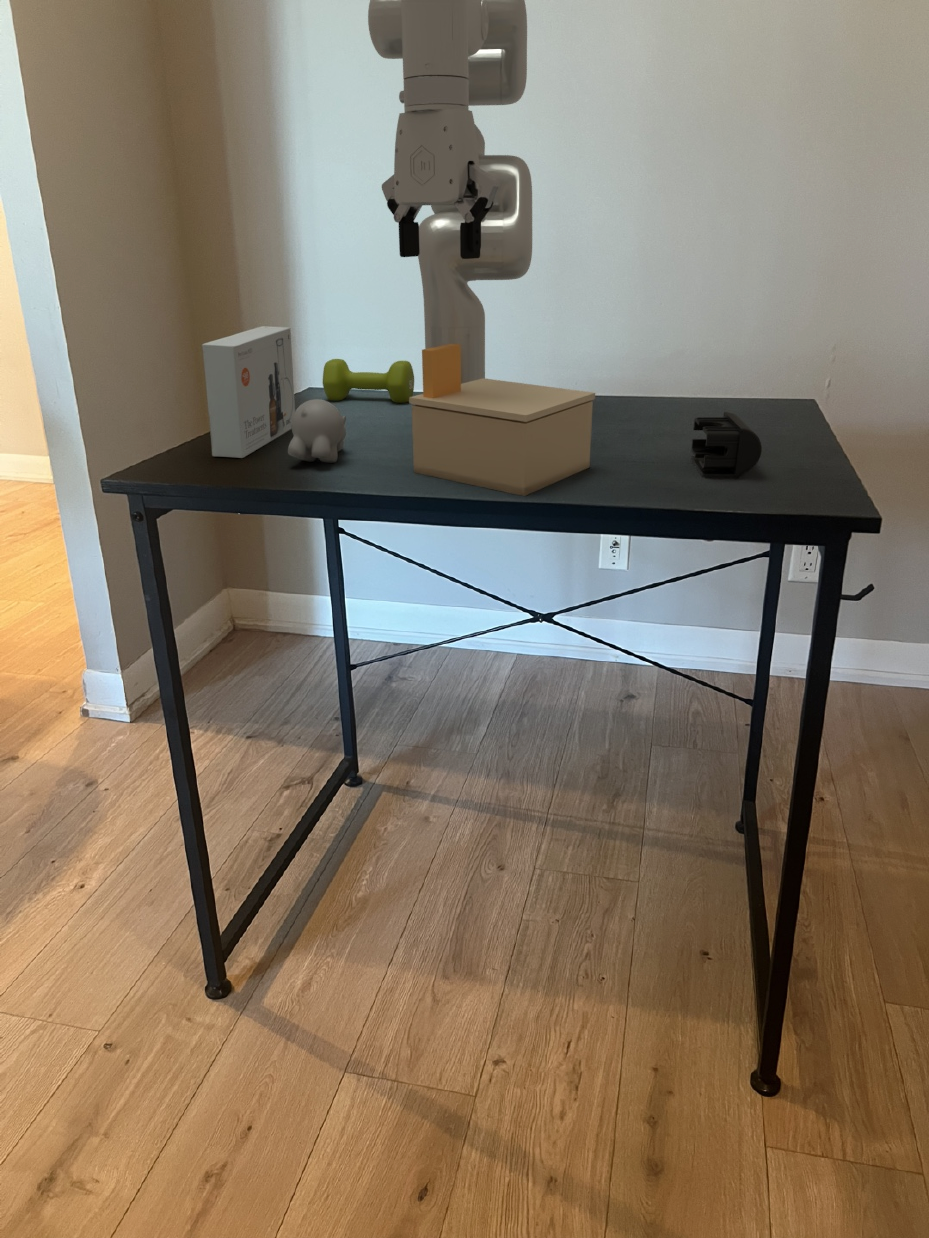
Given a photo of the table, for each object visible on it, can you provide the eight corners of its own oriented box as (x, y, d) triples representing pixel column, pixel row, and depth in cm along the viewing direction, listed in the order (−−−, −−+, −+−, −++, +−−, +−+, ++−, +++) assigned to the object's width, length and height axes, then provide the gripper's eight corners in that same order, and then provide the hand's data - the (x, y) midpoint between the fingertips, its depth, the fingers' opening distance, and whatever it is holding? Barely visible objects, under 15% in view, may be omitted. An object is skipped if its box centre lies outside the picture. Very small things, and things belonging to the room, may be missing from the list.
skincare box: (246, 459, 127) (233, 345, 120) (211, 458, 128) (196, 344, 121) (300, 426, 146) (291, 325, 139) (269, 424, 147) (258, 324, 140)
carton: (483, 448, 131) (483, 386, 128) (589, 467, 121) (592, 401, 118) (413, 472, 120) (411, 405, 116) (524, 496, 110) (525, 424, 106)
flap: (483, 384, 128) (483, 335, 125) (595, 398, 118) (597, 346, 115) (409, 403, 116) (407, 350, 113) (526, 422, 106) (527, 363, 103)
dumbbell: (320, 403, 162) (317, 363, 159) (335, 394, 169) (332, 356, 166) (406, 407, 159) (404, 365, 156) (418, 398, 166) (417, 358, 163)
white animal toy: (360, 470, 131) (367, 412, 130) (325, 460, 119) (332, 396, 119) (316, 466, 133) (323, 409, 132) (278, 455, 121) (284, 392, 121)
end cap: (758, 480, 116) (765, 428, 113) (703, 479, 116) (709, 428, 113) (740, 459, 125) (746, 411, 122) (689, 459, 125) (694, 411, 122)
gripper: (359, 101, 105) (367, 257, 112) (476, 89, 95) (477, 261, 102) (401, 106, 110) (406, 255, 117) (516, 95, 101) (513, 258, 108)
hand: (439, 257), depth 110 cm, fingers open, 9 cm apart
